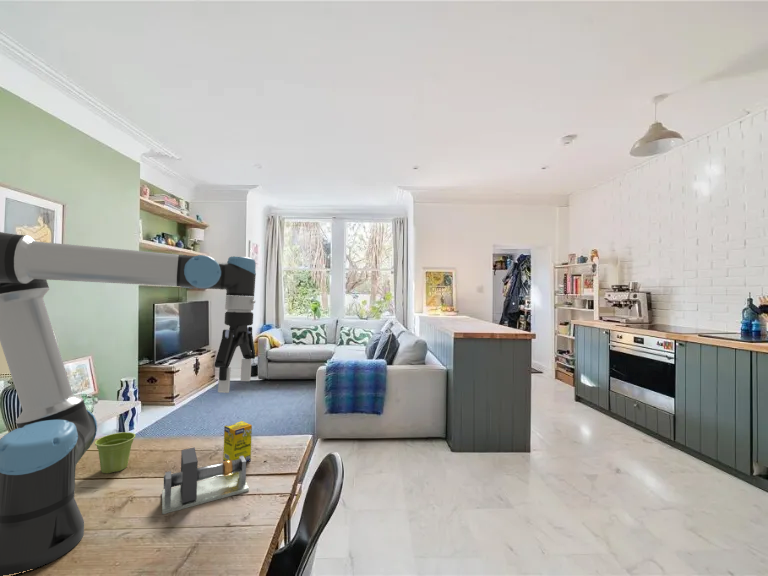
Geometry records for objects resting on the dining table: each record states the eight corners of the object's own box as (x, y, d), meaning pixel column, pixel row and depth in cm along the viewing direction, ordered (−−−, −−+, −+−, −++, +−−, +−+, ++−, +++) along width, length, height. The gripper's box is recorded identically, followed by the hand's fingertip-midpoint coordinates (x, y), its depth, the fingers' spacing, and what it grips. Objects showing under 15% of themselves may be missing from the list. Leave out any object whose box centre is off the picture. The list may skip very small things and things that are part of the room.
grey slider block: (182, 503, 83) (183, 464, 84) (180, 485, 91) (181, 449, 91) (196, 499, 85) (197, 461, 85) (193, 482, 93) (194, 447, 93)
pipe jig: (162, 514, 81) (163, 484, 81) (162, 493, 89) (162, 466, 89) (248, 491, 91) (249, 464, 91) (241, 474, 99) (241, 450, 100)
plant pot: (142, 462, 106) (143, 433, 106) (115, 478, 96) (116, 446, 97) (113, 460, 107) (114, 431, 107) (84, 475, 97) (85, 444, 98)
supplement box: (233, 467, 103) (234, 430, 103) (222, 461, 107) (223, 425, 107) (251, 460, 108) (252, 424, 108) (240, 455, 111) (241, 420, 112)
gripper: (232, 313, 88) (227, 398, 87) (268, 310, 112) (264, 377, 112) (202, 311, 88) (197, 397, 87) (245, 309, 113) (241, 376, 112)
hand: (235, 386), depth 99 cm, fingers open, 13 cm apart
